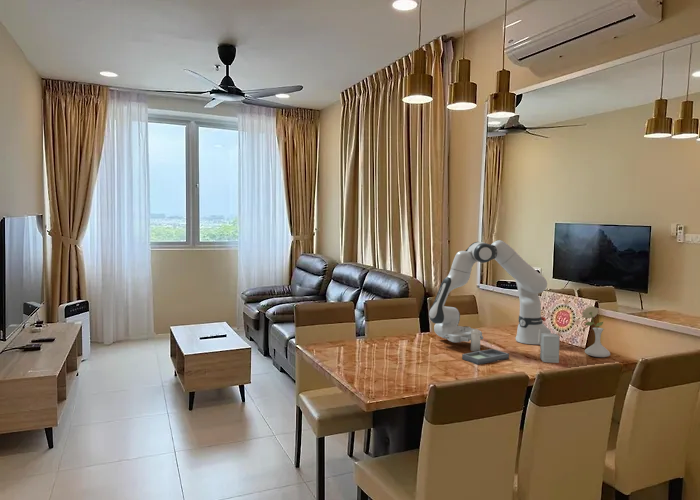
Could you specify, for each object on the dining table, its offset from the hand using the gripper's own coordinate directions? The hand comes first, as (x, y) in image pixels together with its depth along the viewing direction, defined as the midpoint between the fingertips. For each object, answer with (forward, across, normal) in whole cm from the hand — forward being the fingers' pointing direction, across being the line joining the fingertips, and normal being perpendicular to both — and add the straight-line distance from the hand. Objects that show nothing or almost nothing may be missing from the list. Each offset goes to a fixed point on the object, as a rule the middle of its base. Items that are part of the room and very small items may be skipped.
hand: (475, 339), depth 248 cm
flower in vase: (+37, +45, +6) cm, 59 cm away
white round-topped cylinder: (0, 0, +6) cm, 6 cm away
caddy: (+14, -7, +6) cm, 17 cm away
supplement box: (+31, +18, +6) cm, 36 cm away
